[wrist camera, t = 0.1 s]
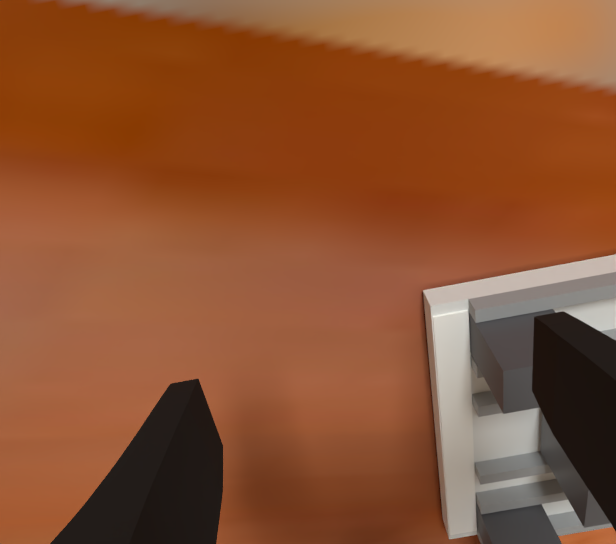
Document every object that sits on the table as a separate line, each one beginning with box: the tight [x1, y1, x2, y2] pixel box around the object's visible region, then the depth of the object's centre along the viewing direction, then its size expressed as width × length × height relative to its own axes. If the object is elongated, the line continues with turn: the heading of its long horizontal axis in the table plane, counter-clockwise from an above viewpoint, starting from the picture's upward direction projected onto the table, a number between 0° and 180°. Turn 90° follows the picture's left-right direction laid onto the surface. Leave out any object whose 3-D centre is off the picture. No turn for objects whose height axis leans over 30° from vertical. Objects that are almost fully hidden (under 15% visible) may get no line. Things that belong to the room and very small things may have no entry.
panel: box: [423, 255, 616, 544], centre depth 23 cm, size 15×12×5 cm
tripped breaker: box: [540, 413, 610, 528], centre depth 22 cm, size 3×3×4 cm
